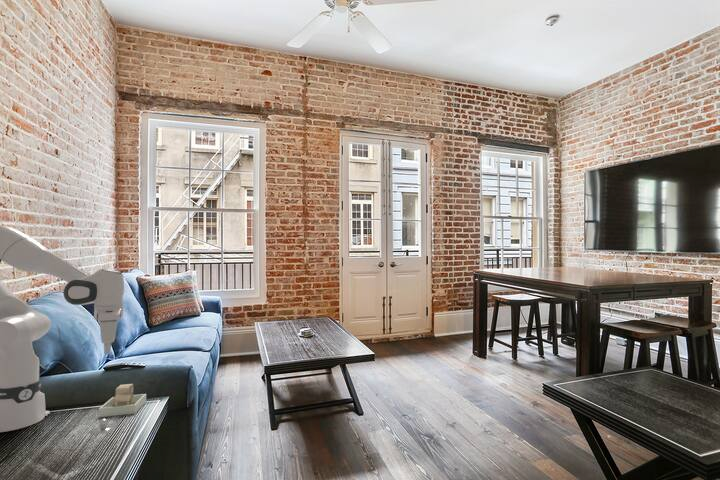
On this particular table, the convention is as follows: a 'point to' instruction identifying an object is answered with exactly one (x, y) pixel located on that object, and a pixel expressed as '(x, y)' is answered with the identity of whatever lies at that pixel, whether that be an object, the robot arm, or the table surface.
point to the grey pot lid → (103, 427)
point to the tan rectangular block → (124, 395)
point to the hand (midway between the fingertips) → (107, 351)
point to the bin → (121, 410)
